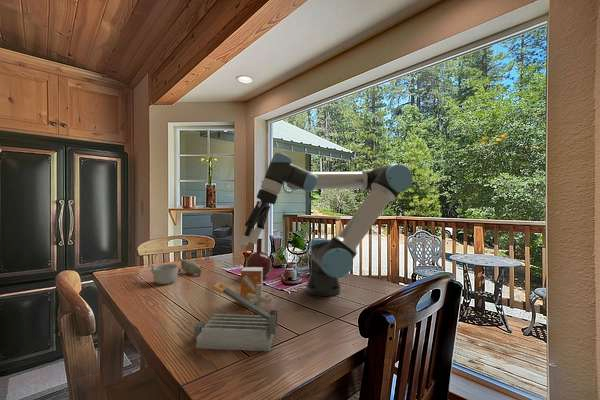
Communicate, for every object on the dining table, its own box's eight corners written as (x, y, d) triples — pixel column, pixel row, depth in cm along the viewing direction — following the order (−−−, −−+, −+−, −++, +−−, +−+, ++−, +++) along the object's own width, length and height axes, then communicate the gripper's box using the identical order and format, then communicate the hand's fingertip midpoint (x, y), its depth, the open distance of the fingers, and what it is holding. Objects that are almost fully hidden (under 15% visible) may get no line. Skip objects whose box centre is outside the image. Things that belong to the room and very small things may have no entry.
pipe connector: (260, 320, 97) (260, 290, 97) (238, 314, 103) (238, 285, 103) (278, 311, 106) (278, 283, 106) (257, 305, 111) (257, 279, 111)
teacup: (182, 282, 141) (182, 265, 141) (161, 287, 132) (161, 270, 132) (165, 277, 148) (165, 262, 148) (144, 282, 139) (144, 266, 139)
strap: (274, 319, 86) (277, 315, 86) (272, 326, 81) (274, 322, 81) (217, 283, 87) (219, 280, 87) (211, 289, 82) (214, 284, 82)
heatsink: (278, 331, 90) (278, 305, 90) (273, 351, 78) (273, 321, 78) (204, 328, 91) (205, 303, 91) (188, 348, 79) (188, 318, 79)
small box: (240, 304, 112) (240, 270, 112) (242, 298, 118) (243, 266, 118) (261, 304, 112) (261, 270, 112) (262, 298, 119) (262, 266, 119)
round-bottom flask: (246, 274, 156) (247, 237, 156) (271, 273, 158) (271, 237, 158) (244, 281, 143) (245, 240, 143) (271, 280, 145) (272, 240, 145)
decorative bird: (195, 277, 149) (195, 263, 149) (176, 273, 158) (176, 259, 158) (204, 275, 154) (204, 261, 154) (184, 271, 162) (184, 258, 162)
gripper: (266, 192, 124) (247, 239, 123) (252, 183, 99) (228, 241, 98) (282, 199, 123) (263, 245, 122) (272, 190, 99) (249, 249, 97)
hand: (248, 243), depth 110 cm, fingers open, 13 cm apart
